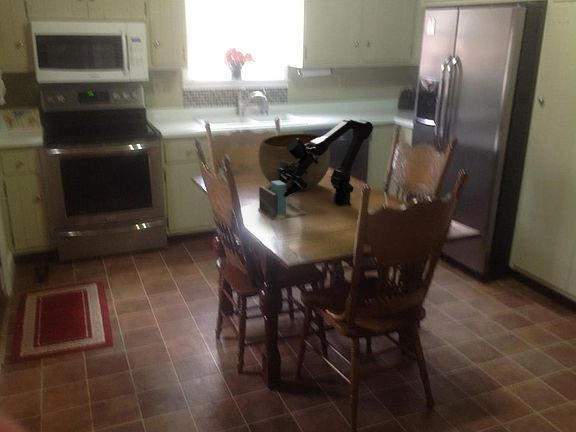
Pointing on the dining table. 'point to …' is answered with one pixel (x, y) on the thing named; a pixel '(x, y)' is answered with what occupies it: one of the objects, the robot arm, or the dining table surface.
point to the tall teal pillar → (279, 196)
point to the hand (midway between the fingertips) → (279, 193)
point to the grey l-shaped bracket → (269, 206)
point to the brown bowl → (290, 158)
